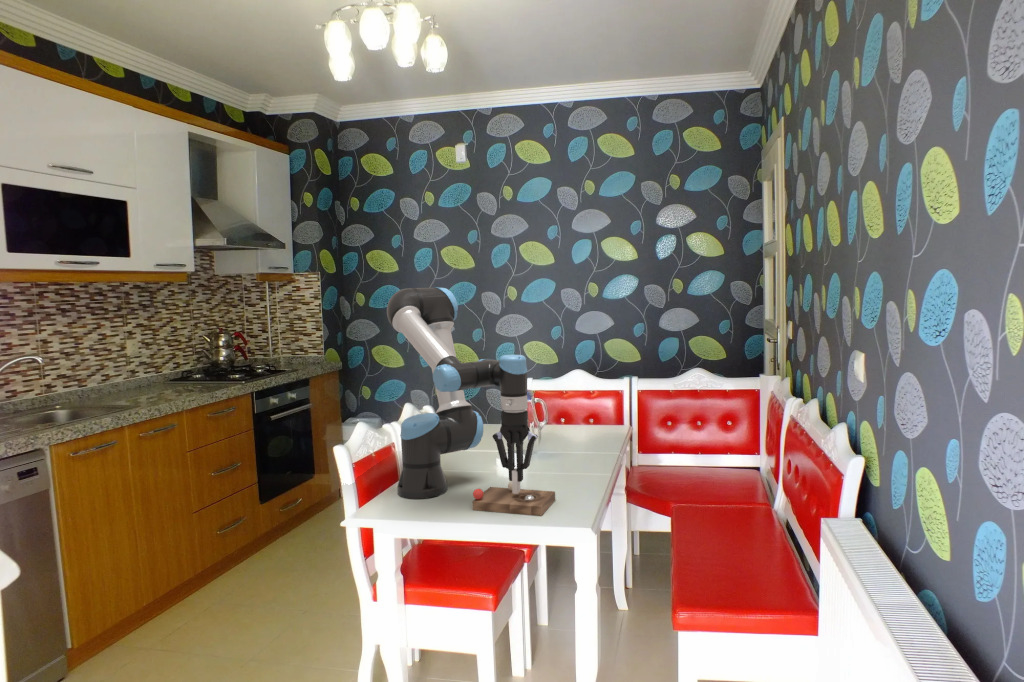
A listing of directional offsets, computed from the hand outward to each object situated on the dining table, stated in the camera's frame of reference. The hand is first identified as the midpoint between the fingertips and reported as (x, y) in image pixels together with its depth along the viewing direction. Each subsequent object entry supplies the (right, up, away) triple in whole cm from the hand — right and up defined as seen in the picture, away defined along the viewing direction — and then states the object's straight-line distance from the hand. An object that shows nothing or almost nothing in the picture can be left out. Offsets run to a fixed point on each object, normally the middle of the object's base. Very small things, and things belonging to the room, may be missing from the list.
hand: (516, 492), depth 191 cm
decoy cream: (-1, +1, +5) cm, 5 cm away
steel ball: (+4, -2, -1) cm, 5 cm away
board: (0, -4, 0) cm, 4 cm away
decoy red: (-11, 0, -2) cm, 11 cm away
